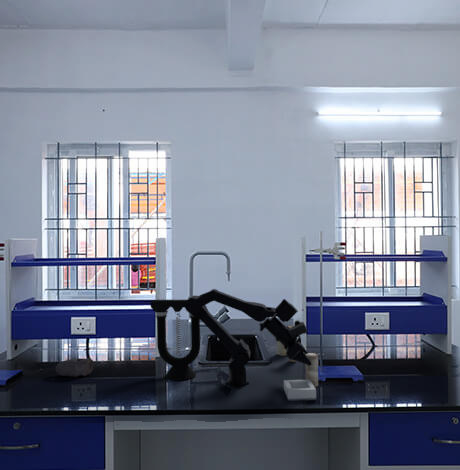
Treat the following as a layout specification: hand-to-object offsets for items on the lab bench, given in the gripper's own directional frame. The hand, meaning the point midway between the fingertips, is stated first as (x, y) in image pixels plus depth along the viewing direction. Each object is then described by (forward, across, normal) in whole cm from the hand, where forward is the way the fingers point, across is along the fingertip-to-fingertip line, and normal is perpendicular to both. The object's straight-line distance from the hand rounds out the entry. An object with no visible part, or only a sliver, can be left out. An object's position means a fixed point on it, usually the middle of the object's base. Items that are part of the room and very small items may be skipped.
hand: (309, 360), depth 153 cm
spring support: (-30, +6, +43) cm, 53 cm away
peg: (+7, 0, +6) cm, 9 cm away
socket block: (+3, -10, +9) cm, 14 cm away
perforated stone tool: (-60, +4, +72) cm, 94 cm away
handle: (+3, +28, +10) cm, 30 cm away
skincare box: (0, +38, +12) cm, 40 cm away
